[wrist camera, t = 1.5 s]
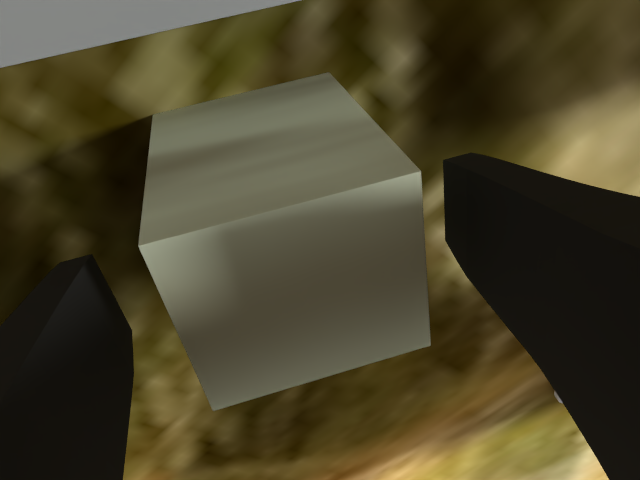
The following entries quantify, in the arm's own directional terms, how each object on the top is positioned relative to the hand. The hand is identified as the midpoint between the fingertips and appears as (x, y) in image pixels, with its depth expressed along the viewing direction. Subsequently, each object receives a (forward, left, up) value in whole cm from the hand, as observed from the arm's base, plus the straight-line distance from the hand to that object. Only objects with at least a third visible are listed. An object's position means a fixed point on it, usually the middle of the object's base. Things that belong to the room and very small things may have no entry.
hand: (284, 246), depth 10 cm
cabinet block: (0, 0, -4) cm, 4 cm away
